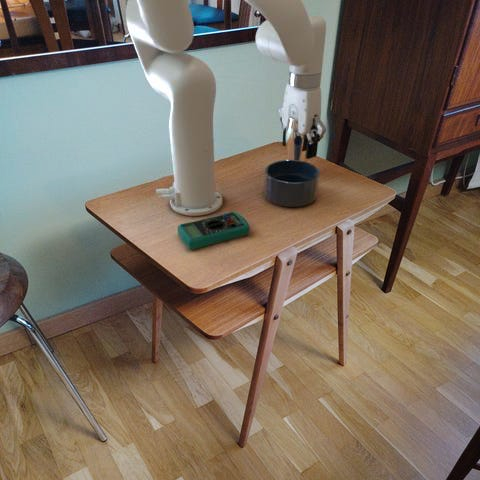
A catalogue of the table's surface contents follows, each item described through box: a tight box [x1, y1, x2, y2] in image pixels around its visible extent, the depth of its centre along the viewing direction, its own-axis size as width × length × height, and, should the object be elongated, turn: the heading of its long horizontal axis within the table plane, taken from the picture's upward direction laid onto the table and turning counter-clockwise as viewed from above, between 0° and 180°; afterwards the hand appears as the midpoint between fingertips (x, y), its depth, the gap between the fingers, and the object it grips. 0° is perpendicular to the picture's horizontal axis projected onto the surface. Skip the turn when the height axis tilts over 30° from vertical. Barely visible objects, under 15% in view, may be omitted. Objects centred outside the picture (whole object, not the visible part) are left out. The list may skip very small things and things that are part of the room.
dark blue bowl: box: [263, 159, 320, 208], centre depth 110 cm, size 13×13×6 cm
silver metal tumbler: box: [285, 116, 314, 163], centre depth 116 cm, size 7×7×15 cm
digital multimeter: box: [177, 211, 250, 251], centre depth 97 cm, size 7×15×3 cm, turn 117°
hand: (299, 151), depth 117 cm, fingers open, 9 cm apart
